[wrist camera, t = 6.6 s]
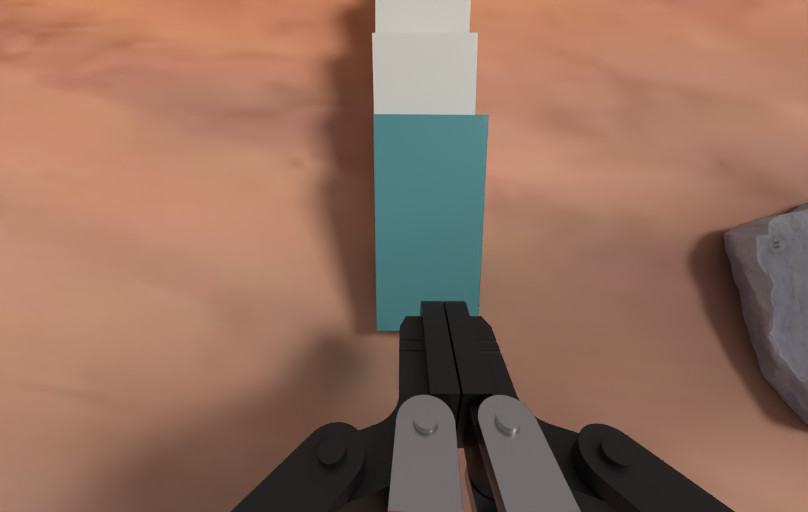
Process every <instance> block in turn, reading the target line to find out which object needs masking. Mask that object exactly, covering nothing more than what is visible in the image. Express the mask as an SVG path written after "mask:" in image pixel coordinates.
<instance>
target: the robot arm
mask: <svg viewBox="0 0 808 512" xmlns="http://www.w3.org/2000/svg"><path fill="white" fill-rule="evenodd" d="M457 448H464V451H465V457H466V463H467V465H466V470H465V482H466V486H467V491H468V495H469V499H470V504H471V508H472V512H734V511H733V510H732V509H730V508H729V507H727V506H726V505H725V504H723V503H722V502H720V501H719V500H717V499H716V498H715V497H713V496H712V495H710V494H709V493H708V492H706V491H705V490H703V489H702V488H701V487H699V486H698V485H696V484H695V483H693V482H692V481H691V480H689V479H688V478H686V477H685V476H684V475H682V474H681V473H679V472H678V471H677V470H675V469H674V468H672V467H671V466H669V465H668V464H667V463H665V462H664V461H662V460H661V459H660V458H658V457H657V456H655V455H654V454H652V453H651V452H650V451H648V450H647V449H645V448H644V447H643V446H641V445H640V444H638V443H637V442H636V441H634V440H633V439H631V438H630V437H628V436H627V435H626V434H624V433H622V432H621V431H619V430H617V429H615V428H613V427H610V426H608V425H604V424H590V425H587V426H585V427H584V428H583V429H582V430H581V431H580V433H577V432H573V431H570V430H567V429H564V428H561V427H557V426H554V425H551V424H548V423H546V422H544V421H542V420H540V419H538V418H536V417H535V416H534V414H533V413H532V412H531V410H530V409H529V408H528V407H527V406H526V405H524V404H523V403H522V402H520V400H519V399H518V397H517V395H516V392H515V389H514V387H513V384H512V381H511V379H510V376H509V373H508V371H507V368H506V365H505V362H504V360H503V357H502V354H501V353H500V349H499V346H498V344H497V342H496V338H495V336H494V333H493V330H492V328H491V326H490V325H489V324H488V323H487V322H486V321H485V320H484V319H483V318H482V317H481V316H470V314H469V311H468V308H467V304H466V302H465V301H443V302H442V301H421V304H420V316H406V317H405V318H404V320H403V322H402V324H401V325H400V340H399V400H398V404H397V406H396V408H395V409H394V411H393V412H392V414H391V415H390V416H389V417H388V418H386V419H385V420H384V421H382V422H380V423H378V424H376V425H373V426H370V427H367V428H364V429H361V430H359V431H358V430H357V429H356V428H354V427H353V426H352V425H349V424H347V423H343V422H335V423H330V424H326V425H324V426H322V427H320V428H318V429H317V430H316V431H314V432H313V433H312V434H311V435H310V436H309V437H308V438H307V439H306V440H305V441H304V442H303V443H302V444H301V445H300V446H299V447H297V448H296V449H295V450H294V451H293V452H292V453H291V454H290V455H289V456H288V457H287V458H286V459H285V460H284V461H283V462H282V463H281V464H280V465H279V466H278V467H277V468H276V469H275V470H274V471H273V472H272V473H270V474H269V475H268V476H267V477H266V478H265V479H264V480H263V481H262V482H261V483H260V484H259V485H258V486H257V487H256V488H255V489H254V490H253V491H252V492H251V493H250V494H249V495H248V496H247V497H246V498H245V499H243V500H242V501H241V502H240V503H239V504H238V505H237V506H236V507H235V508H234V509H233V510H232V511H231V512H463V510H462V498H461V486H460V474H459V462H458V450H457Z"/></svg>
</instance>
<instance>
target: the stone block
mask: <svg viewBox="0 0 808 512" xmlns="http://www.w3.org/2000/svg"><path fill="white" fill-rule="evenodd" d="M724 246H725V251H726V253H727V256H728V258H729V260H730V263H731V268H732V274H733V277H734V281H735V284H736V286H737V287H738V289H739V293H740V300H741V304H742V315H743V318H744V321H745V323H746V325H747V328H748V331H749V335H750V340H751V342H752V345H753V348H754V350H755V352H756V355H757V358H758V362H759V366H760V371H761V373H762V375H763V377H764V379H765V380H766V381H767V382H768V383H769V384H770V385H771V386H772V387H773V388H774V389H775V390H776V391H777V392H778V394H779V395H780V396H781V398H782V399H783V400H784V401H785V402H786V403H787V404H788V405H789V406H790V407H791V408H792V409H793V411H794V412H795V413H796V414H797V416H798V417H799V418H800V419H802V420H803V421H804V422H805V423H806V424H807V425H808V203H806V204H804V205H801V206H799V207H797V208H795V209H794V210H792V211H791V212H789V213H787V214H782V215H776V216H771V217H765V218H760V219H755V220H753V221H750V222H747V223H744V224H741V225H738V226H736V227H734V228H732V229H730V230H728V231H727V232H725V233H724Z"/></svg>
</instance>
